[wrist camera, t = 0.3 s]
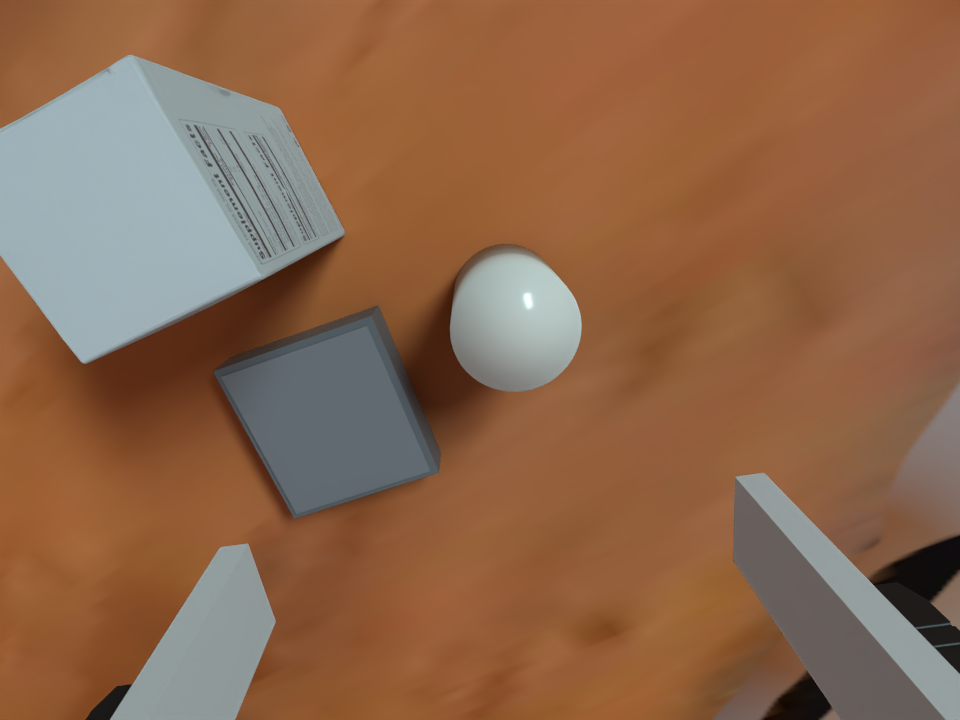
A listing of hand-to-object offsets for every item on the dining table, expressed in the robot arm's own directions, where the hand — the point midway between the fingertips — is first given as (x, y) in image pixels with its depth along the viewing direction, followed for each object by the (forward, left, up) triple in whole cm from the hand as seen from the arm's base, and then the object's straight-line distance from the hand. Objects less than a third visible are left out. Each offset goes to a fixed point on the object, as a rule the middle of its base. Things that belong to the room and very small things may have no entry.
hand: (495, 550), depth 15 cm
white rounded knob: (0, +2, -27) cm, 27 cm away
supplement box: (-12, -12, -27) cm, 32 cm away
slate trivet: (+4, -13, -27) cm, 30 cm away
